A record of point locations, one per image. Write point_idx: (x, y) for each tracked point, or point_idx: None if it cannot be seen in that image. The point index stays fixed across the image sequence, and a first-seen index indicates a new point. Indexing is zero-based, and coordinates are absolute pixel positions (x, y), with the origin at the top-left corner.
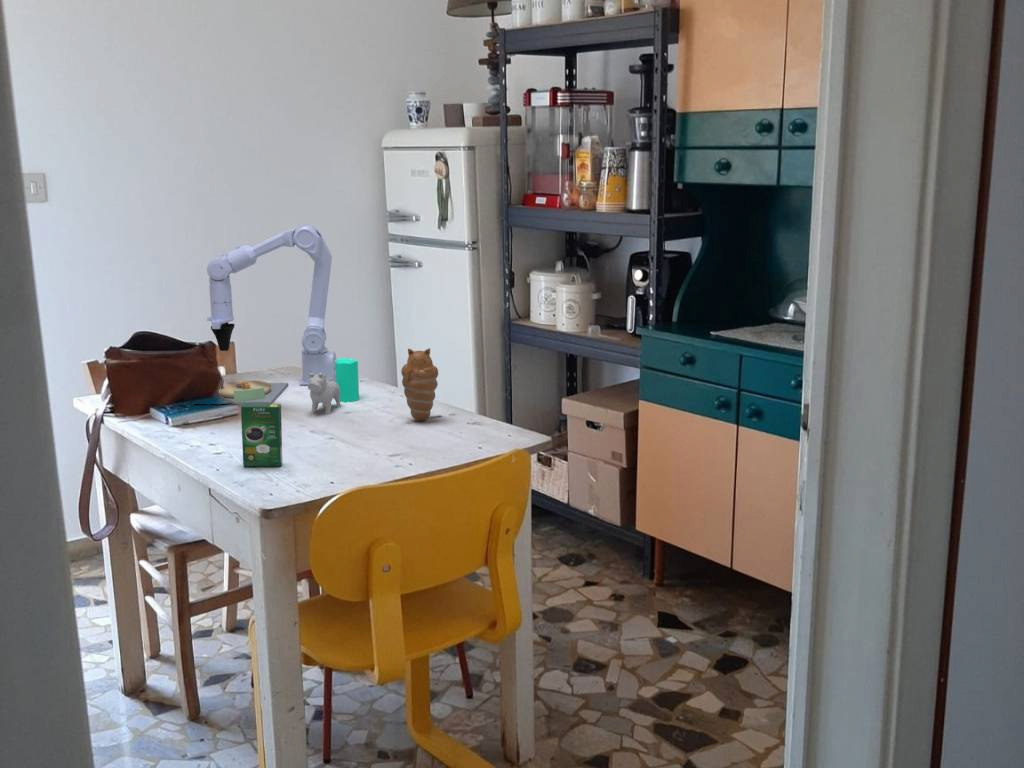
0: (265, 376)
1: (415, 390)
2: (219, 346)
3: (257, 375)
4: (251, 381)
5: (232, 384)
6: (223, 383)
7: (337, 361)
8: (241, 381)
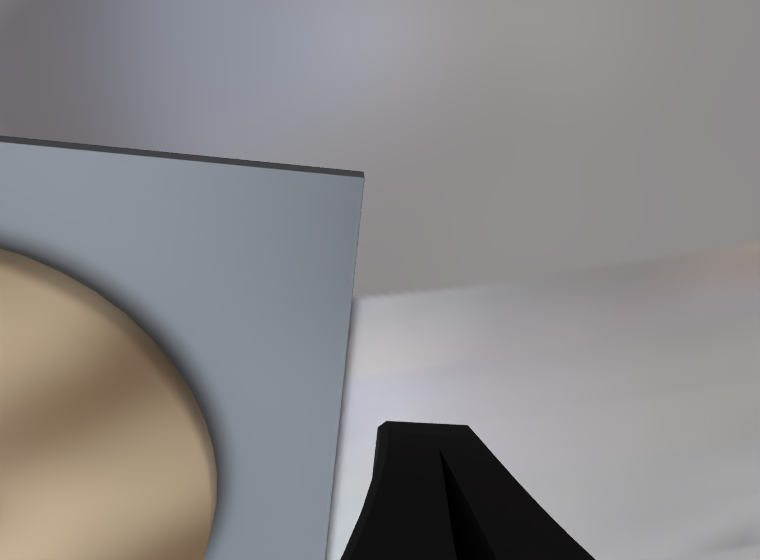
0: (678, 513)
1: None
2: (375, 471)
3: (738, 451)
4: (167, 542)
5: (27, 408)
6: (71, 316)
7: None
8: (168, 463)
